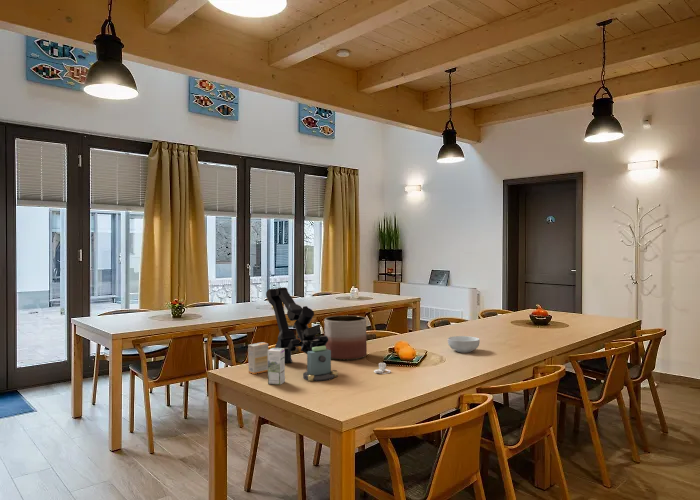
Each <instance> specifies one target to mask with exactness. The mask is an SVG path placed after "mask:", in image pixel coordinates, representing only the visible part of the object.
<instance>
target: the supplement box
mask: <svg viewBox="0 0 700 500" xmlns="http://www.w3.org/2000/svg"><path fill="white" fill-rule="evenodd" d="M247 347H248V348H247V352H248V353H247V354H248V355H247V357H248V373H249V374H251V373H252V375H258V374H261V373H268V350H269V343H267V342H264V341H263V342H262V341H261V342H257V343H251V344H247ZM257 373H258V374H257Z"/></svg>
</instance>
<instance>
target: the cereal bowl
mask: <svg viewBox="0 0 700 500" xmlns="http://www.w3.org/2000/svg"><path fill="white" fill-rule="evenodd" d="M447 344H448V346H449V347H450V348H451V349H452V350H454V351H456V352H457V353H463V354H464V353H465V354H466V353H467V354H468V353H471V352H472V351H475V350H477V349H478V347H479V346H480V338H479V337H476V336H470V335H469V336H467V335H454V336H450V337H448V338H447Z"/></svg>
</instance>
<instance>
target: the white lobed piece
mask: <svg viewBox="0 0 700 500" xmlns="http://www.w3.org/2000/svg"><path fill="white" fill-rule="evenodd" d="M386 367H387V364H386V363H385V362H379V363H378V369H374V370H373V373H375V374H381V375H385V374H386V375H387V374H390V373H391V372H392V370H391V369H387V368H386ZM385 371H386V372H385Z"/></svg>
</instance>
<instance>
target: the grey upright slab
mask: <svg viewBox="0 0 700 500" xmlns="http://www.w3.org/2000/svg"><path fill="white" fill-rule="evenodd" d="M306 357H307V358H306V361H307V362H306V364H307V365H306V366H307V367H306V371H307V374H308V375H309V374H313V375H320V374H326V373H331V371H332V367H331V366H332V359H331V350H329V349H326V346H318V347H317V346H316V347H312V351H308V352H307V354H306Z"/></svg>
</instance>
